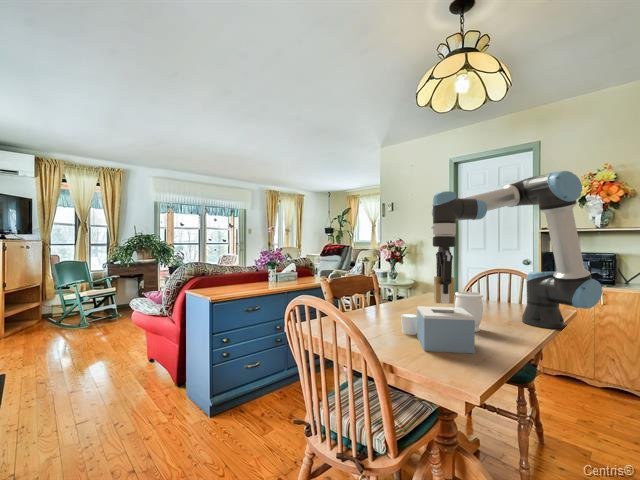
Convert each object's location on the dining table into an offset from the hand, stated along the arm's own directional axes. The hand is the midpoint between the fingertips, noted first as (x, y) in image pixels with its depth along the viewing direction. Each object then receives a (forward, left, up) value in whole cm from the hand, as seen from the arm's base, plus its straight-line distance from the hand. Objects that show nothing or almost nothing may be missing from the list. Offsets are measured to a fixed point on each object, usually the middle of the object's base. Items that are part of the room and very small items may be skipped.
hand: (443, 301), depth 110 cm
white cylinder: (+10, -13, -16) cm, 23 cm away
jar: (-15, -21, -16) cm, 30 cm away
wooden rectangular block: (0, 0, 0) cm, 0 cm away
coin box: (0, 0, -15) cm, 15 cm away
